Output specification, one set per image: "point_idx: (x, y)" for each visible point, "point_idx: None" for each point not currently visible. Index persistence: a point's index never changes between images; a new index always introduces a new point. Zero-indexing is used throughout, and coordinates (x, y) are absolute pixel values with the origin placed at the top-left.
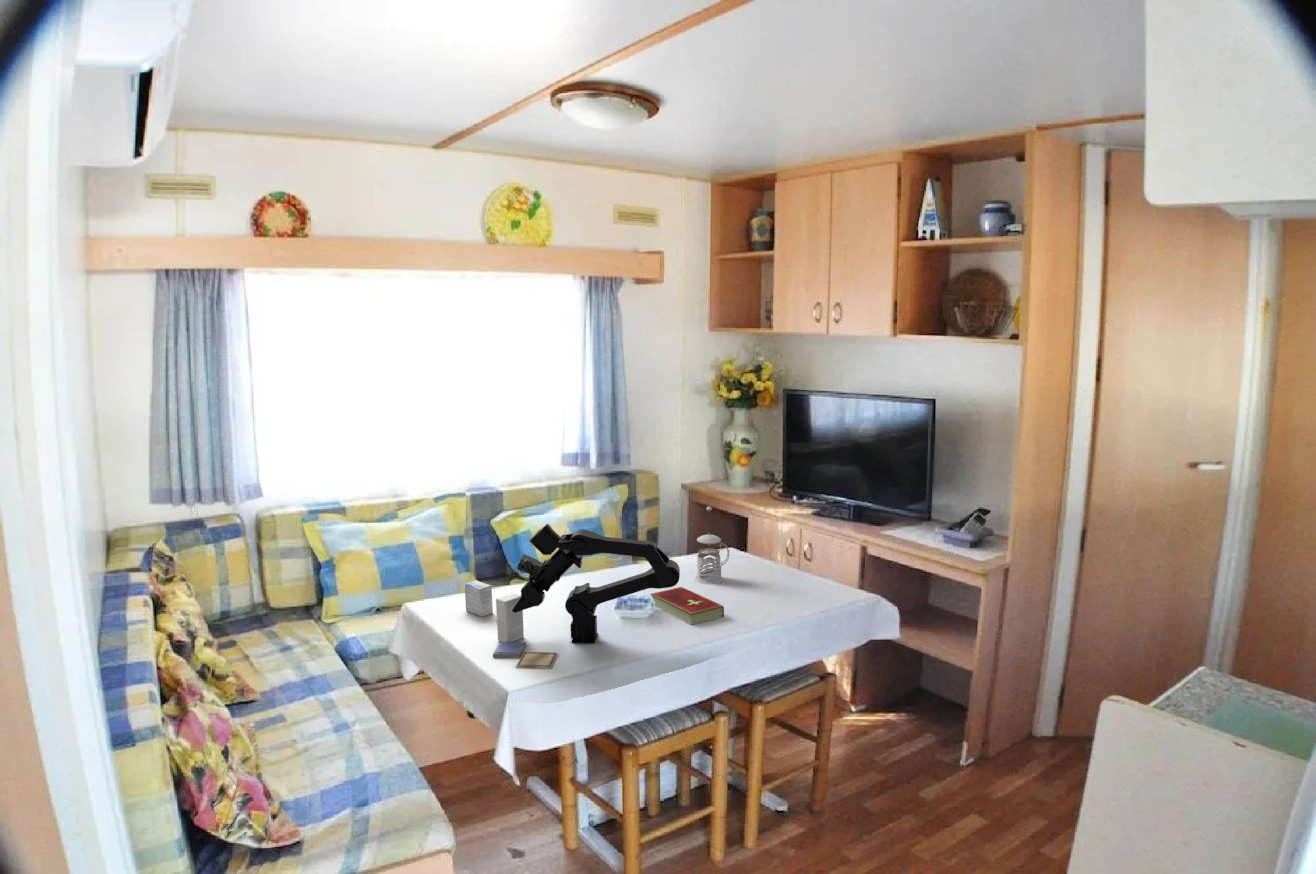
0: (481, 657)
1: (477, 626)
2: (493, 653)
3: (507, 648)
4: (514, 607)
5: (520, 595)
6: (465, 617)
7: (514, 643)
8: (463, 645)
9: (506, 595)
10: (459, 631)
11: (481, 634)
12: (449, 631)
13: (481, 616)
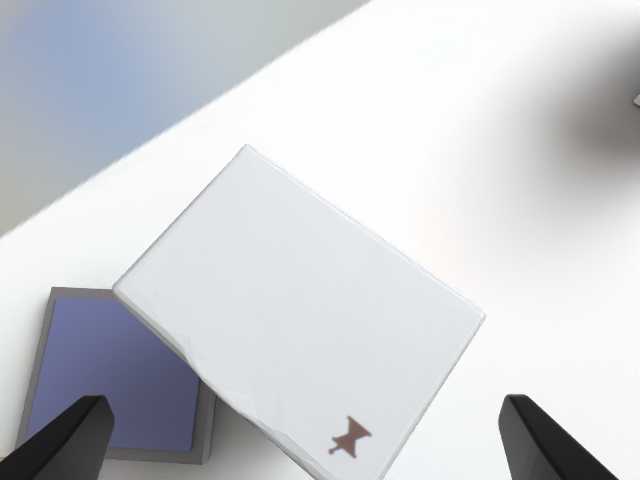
0: (76, 231)
1: (492, 116)
2: (51, 289)
3: (99, 359)
4: (29, 440)
5: (531, 433)
6: (610, 32)
7: (173, 388)
8: (236, 112)
9: (372, 252)
10: (415, 52)
11: (382, 161)
12: (412, 11)
13: (635, 102)
